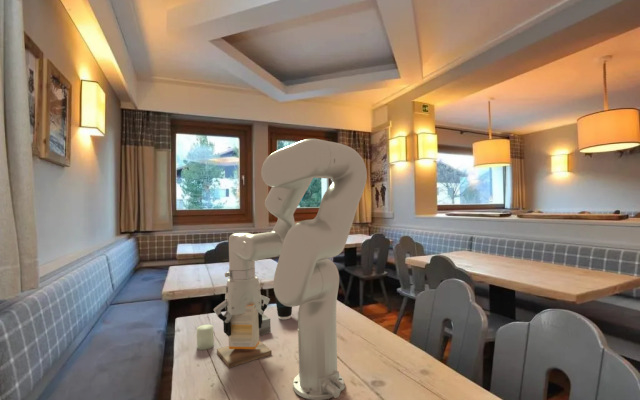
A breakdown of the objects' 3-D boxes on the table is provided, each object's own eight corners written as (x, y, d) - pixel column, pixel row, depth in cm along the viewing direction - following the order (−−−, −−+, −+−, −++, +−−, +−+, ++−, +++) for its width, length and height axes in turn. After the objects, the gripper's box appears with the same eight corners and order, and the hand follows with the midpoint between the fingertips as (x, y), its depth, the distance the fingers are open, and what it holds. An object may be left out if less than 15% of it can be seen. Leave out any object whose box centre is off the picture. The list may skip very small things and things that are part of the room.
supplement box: (259, 342, 100) (258, 300, 100) (255, 350, 96) (253, 305, 96) (234, 342, 101) (233, 300, 101) (228, 349, 97) (226, 305, 97)
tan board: (271, 354, 98) (271, 350, 98) (229, 367, 90) (229, 363, 90) (256, 341, 107) (256, 338, 107) (216, 353, 100) (216, 349, 100)
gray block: (270, 332, 114) (270, 318, 114) (257, 336, 111) (256, 321, 111) (263, 327, 119) (263, 313, 119) (250, 330, 116) (250, 316, 116)
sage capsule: (215, 346, 104) (215, 328, 104) (199, 351, 101) (199, 332, 101) (211, 341, 108) (210, 323, 108) (195, 345, 105) (194, 327, 105)
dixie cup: (293, 312, 133) (292, 286, 133) (296, 319, 126) (295, 291, 126) (273, 314, 132) (273, 287, 132) (275, 321, 124) (274, 293, 124)
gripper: (217, 281, 91) (218, 342, 91) (273, 272, 100) (275, 327, 101) (209, 276, 97) (211, 333, 97) (263, 268, 107) (264, 320, 107)
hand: (243, 330), depth 99 cm, fingers closed on supplement box, 9 cm apart
